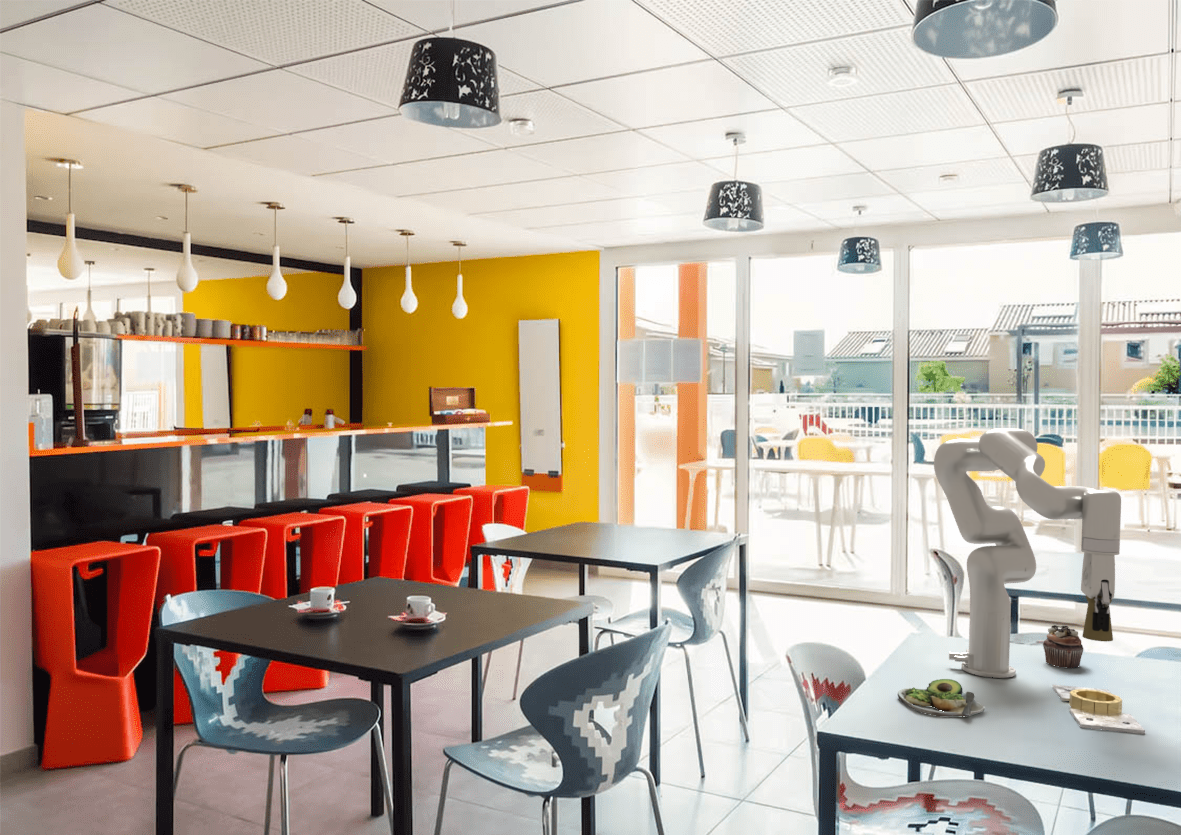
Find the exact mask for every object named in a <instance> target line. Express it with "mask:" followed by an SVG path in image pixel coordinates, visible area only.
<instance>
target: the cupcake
mask: <svg viewBox="0 0 1181 835" xmlns="http://www.w3.org/2000/svg"><path fill="white" fill-rule="evenodd" d="M1047 631H1048V633H1047V635H1046V638H1045V639H1044V641H1043V642H1042V646H1043V651H1044V656H1045V662H1047V663H1049V664H1048V665H1050V664H1052V665H1055V666H1054V667H1056V666H1059V667H1058V668H1061V667H1067V668H1066V669H1075V668H1074V667H1078V666H1079V667H1080V666H1081V661H1082V660H1081V659H1082V656H1083V653H1084V646H1083V644H1082V639H1081V638H1080V636H1079V631H1078V630H1075V629H1074V628H1069V626H1068V625H1062V626H1059V625H1057V624H1054V625H1052V626H1050V627H1049V628H1047ZM1047 663H1046V664H1047ZM1052 665H1051V666H1052ZM1079 667H1078V668H1079Z"/></svg>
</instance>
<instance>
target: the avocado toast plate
mask: <svg viewBox="0 0 1181 835" xmlns="http://www.w3.org/2000/svg"><path fill="white" fill-rule="evenodd" d="M897 697H898V699H899V700H900V701H901V702H902V703H904V704H905V705H906V706H908V707H909V708H911V709H913V710H914V709H915V710H914V711H916V710H917V712H918V711H919V713H921V712H922V713H921V714H924V713H926V714H925V715H928V714H931V715H930V716H933V715H936V716H935V717H940V716H962V717H961V718H967V717H966V716H968V717H971V716H973V715H977V714H979V713H982V712H983V711H985V706H984V705H983V704H982V703H980V702H979V701H977V700H975V693H974V692H970V691H966V692H965V691H964V692H963V686H962V684H961V683H960V682H958V681H957V680H954V679H952V678H951V679H950V678H941V679H936V680H932V681H931V682H929V683H928V686H926V688H925V689H924V688H915V687H912V688H911V687H910V688H903V689H900V690H898V691H897ZM912 704H915V705H912ZM918 705H921V706H918ZM926 706H932V707H935V708H937V709H938V710H942V711H938V710H937V709H935V710H934V709H929V708H925V707H926ZM932 707H931V708H932ZM943 711H944V712H943ZM963 716H965V717H963Z"/></svg>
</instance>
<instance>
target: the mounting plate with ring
mask: <svg viewBox="0 0 1181 835" xmlns="http://www.w3.org/2000/svg"><path fill="white" fill-rule="evenodd" d="M1051 688H1052V689H1054V690H1053V691H1054V693H1055V694H1056V693H1057V694H1056V695H1057V696H1059V697H1060V698H1059V697H1058V698H1059V699H1060V701H1061V700H1062V701H1061V702H1063V701H1069V702H1068V704H1069V705H1070V706H1071V707H1070V706H1069V713H1070V715H1071V714H1072V715H1071V716H1072V717H1074V718H1073V719H1074V720H1075V722H1076V721H1077V722H1076V724H1077V725H1078V724H1079V725H1080V726H1079V725H1078V726H1079V727H1080V728H1081V727H1082V728H1081V729H1087V728H1092V729H1091V730H1096V729H1102V730H1101V731H1106V730H1109V731H1108V732H1116V731H1118V733H1126V732H1127V734H1137V735H1146V730H1145V729H1144V727H1143V726H1142V725H1141V724H1140V723H1139V722H1138V721H1137V720H1136V718H1135V717H1134V716H1133V715H1132V714H1130V713H1123V712H1122V711H1123V699H1122V697H1120V696H1119V695H1116V694H1113V693H1111V691H1110V690H1109V689H1106V688H1105V689H1104V688H1093V687H1084V686H1083V687H1081V686H1073V685H1072V686H1071V685H1061V684H1052V687H1051Z"/></svg>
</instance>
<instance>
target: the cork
mask: <svg viewBox="0 0 1181 835" xmlns="http://www.w3.org/2000/svg"><path fill="white" fill-rule="evenodd" d="M1109 596H1111V595H1110V591H1109ZM1097 598H1102V596H1098V595H1097ZM1109 598H1110V597H1109ZM1085 599H1086V601H1087V608H1086V615H1085V619H1084V625H1083V631H1082V638H1084V639H1086V640H1091V641H1096V642H1113V641H1114V637H1113V629H1112V628H1113V627H1112V619H1111V610H1110V607H1109V631H1108V632H1104V631H1102V629H1101V630H1099V631H1094V630H1093V629H1092V618H1093V612H1094V597H1093V599H1090V598H1089V597H1088V596H1086V595H1085ZM1112 601H1113V599H1112V600H1110V604H1111V603H1112ZM1099 602H1101V601H1098V603H1099Z"/></svg>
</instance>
